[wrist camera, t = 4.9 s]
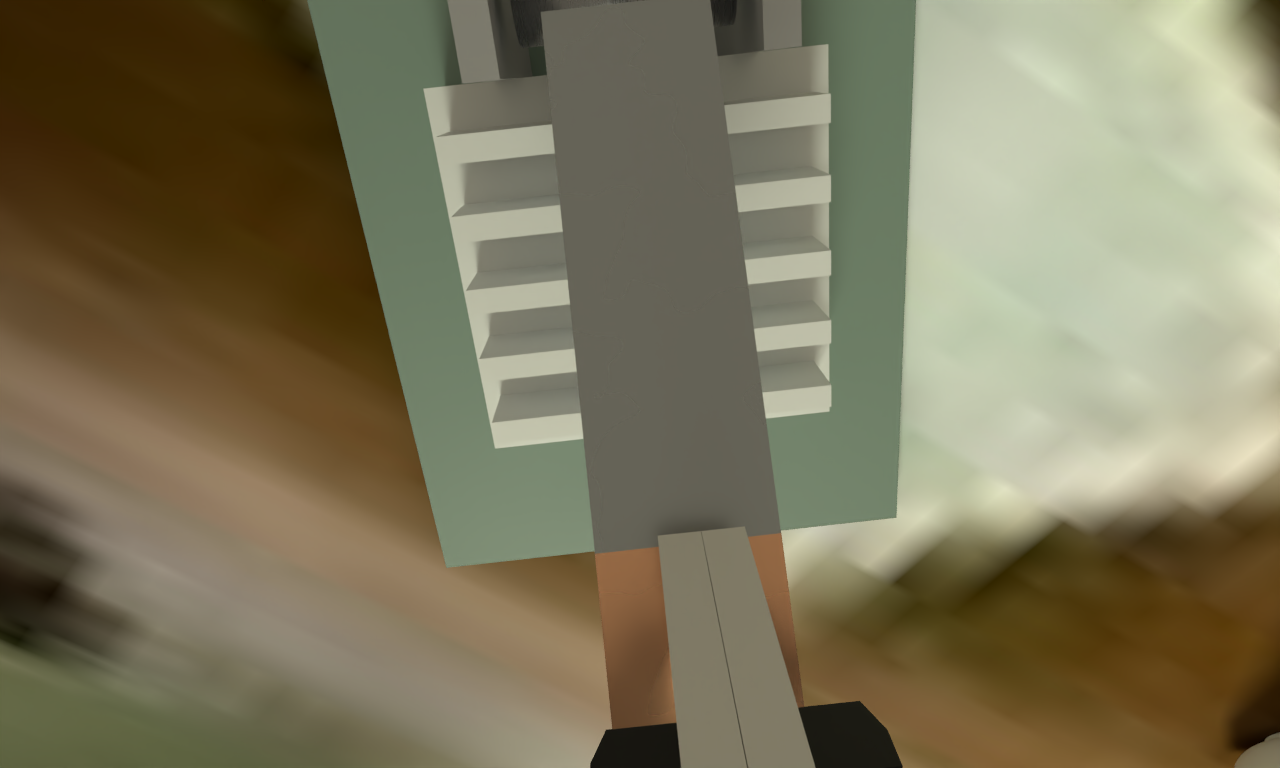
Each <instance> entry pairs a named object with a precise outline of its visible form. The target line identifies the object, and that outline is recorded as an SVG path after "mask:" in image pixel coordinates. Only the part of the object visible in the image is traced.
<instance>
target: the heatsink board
mask: <svg viewBox="0 0 1280 768" xmlns="http://www.w3.org/2000/svg"><path fill="white" fill-rule="evenodd" d="M307 1H308V5H309V9H310V13H311V17H312V21H313V25H314V29H315V33H316V37H317V42H318V46H319V50H320V54H321V58H322V62H323V66H324V70H325V74H326V78H327V82H328V86H329V90H330V95H331V99H332V103H333V107H334V111H335V115H336V119H337V123H338V127H339V131H340V135H341V139H342V144H343V148H344V152H345V156H346V160H347V164H348V168H349V172H350V176H351V180H352V184H353V188H354V192H355V197H356V201H357V205H358V209H359V213H360V217H361V221H362V225H363V229H364V233H365V237H366V241H367V246H368V250H369V254H370V258H371V262H372V266H373V270H374V274H375V278H376V282H377V286H378V290H379V294H380V299H381V303H382V307H383V311H384V315H385V319H386V323H387V327H388V331H389V335H390V339H391V343H392V347H393V352H394V356H395V360H396V364H397V368H398V372H399V376H400V380H401V384H402V388H403V392H404V396H405V401H406V405H407V409H408V413H409V417H410V421H411V425H412V429H413V433H414V437H415V441H416V445H417V449H418V454H419V458H420V462H421V466H422V470H423V474H424V478H425V482H426V486H427V490H428V494H429V498H430V502H431V507H432V511H433V515H434V519H435V523H436V527H437V531H438V535H439V539H440V543H441V547H442V551H443V556H444V560H445V564H446V568H448V567H457V566H466V565H475V564H484V563H493V562H502V561H511V560H520V559H529V558H538V557H547V556H556V555H565V554H574V553H583V552H592V551H595V549H594V539H593V529H592V519H591V509H590V499H589V489H588V479H587V469H586V459H585V449H584V439H583V429H582V419H581V409H580V399H579V389H578V379H577V369H576V359H575V349H574V339H573V329H572V319H571V309H570V299H569V289H568V279H567V269H566V259H565V249H564V239H563V229H562V219H561V209H560V199H559V189H558V179H557V169H556V159H555V149H554V139H553V129H552V119H551V109H550V99H549V89H548V79H547V69H546V59H545V49H544V46H538V47H529V48H521V47H520V45H519V42H518V38H517V34H516V29H515V25H514V20H513V14H512V8H511V2H510V0H307ZM915 10H916V0H737V10H736V18H735V22H734V24H733V25H729V26H720V27H714V32H715V40H716V48H717V55H718V63H719V70H720V78H721V85H722V93H723V100H724V108H725V115H726V123H727V130H728V138H729V145H730V153H731V160H732V168H733V175H734V183H735V190H736V198H737V205H738V213H739V220H740V228H741V235H742V243H743V250H744V258H745V265H746V273H747V280H748V288H749V295H750V303H751V310H752V318H753V325H754V333H755V341H756V348H757V356H758V363H759V371H760V378H761V386H762V393H763V401H764V408H765V416H766V423H767V431H768V438H769V446H770V453H771V461H772V468H773V476H774V483H775V491H776V498H777V506H778V513H779V521H780V528H781V530H789V529H798V528H807V527H816V526H825V525H834V524H843V523H852V522H861V521H870V520H879V519H888V518H896V513H897V487H898V460H899V434H900V407H901V381H902V354H903V328H904V301H905V275H906V248H907V222H908V195H909V169H910V142H911V116H912V89H913V63H914V36H915Z"/></svg>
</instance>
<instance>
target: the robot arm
mask: <svg viewBox="0 0 1280 768" xmlns="http://www.w3.org/2000/svg"><path fill="white" fill-rule="evenodd" d="M701 532H702V534H701ZM658 544H659V554H660V564H661V574H662V584H663V594H664V603H665V613H666V623H667V633H668V643H669V653H670V663H671V672H672V682H673V692H674V702H675V712H676V722H677V723H667V724H658V725H648V726H639V727H629V728H620V729H610V730H606V731H605V734H604V736H603V738H602V740H601V742H600V744H599V746H598V749H597V751H596V753H595V755H594V757H593V759H592V761H591V764H590V768H902V764H901V761H900V759H899V757H898V754H897V752H896V749H895V747H894V745H893V742H892V740H891V737H890V735H889V733H888V730H887V729H886V728H885V727H884V726H883V725H882V724H881V723H880V722H879V721H878V720H877V719H876V718H875V716H874V715H873V714H872V713H871V712H870V711H869V710H868V709H867V708H866V707H865V706H864V705H863V704H862V703H861V702H860V701H856V702H846V703H837V704H827V705H818V706H808V707H799V708H798V706H797V703H796V699H795V696H794V693H793V689H792V686H791V682H790V679H789V676H788V672H787V669H786V665H785V662H784V659H783V655H782V652H781V648H780V645H779V642H778V638H777V635H776V631H775V628H774V625H773V621H772V618H771V614H770V611H769V607H768V604H767V601H766V597H765V594H764V590H763V587H762V584H761V580H760V577H759V573H758V570H757V567H756V563H755V560H754V556H753V553H752V550H751V546H750V543H749V539H748V536H747V532H746V529H745V526H744V527H735V528H725V529H716V530H707V531H697V532H687V533H678V534H669V535H659V536H658Z"/></svg>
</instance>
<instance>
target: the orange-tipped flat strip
mask: <svg viewBox="0 0 1280 768" xmlns="http://www.w3.org/2000/svg"><path fill="white" fill-rule="evenodd" d="M510 2H511V8H512V14H513V20H514V25H515V29H516V34H517V38H518V42H519V45H520V47H521V48H529V47H538V46H544V49H545V59H546V69H547V79H548V89H549V99H550V109H551V119H552V129H553V139H554V149H555V159H556V169H557V179H558V189H559V199H560V209H561V219H562V229H563V239H564V249H565V259H566V269H567V279H568V289H569V299H570V309H571V319H572V329H573V339H574V349H575V359H576V369H577V379H578V389H579V399H580V409H581V419H582V429H583V439H584V449H585V459H586V469H587V479H588V489H589V499H590V509H591V519H592V529H593V539H594V549H595V559H596V569H597V579H598V589H599V599H600V609H601V619H602V629H603V639H604V649H605V659H606V669H607V679H608V689H609V699H610V709H611V719H612V729H620V728H629V727H639V726H648V725H658V724H667V723H677V722H676V712H675V702H674V692H673V682H672V672H671V663H670V653H669V643H668V633H667V623H666V613H665V603H664V594H663V584H662V574H661V564H660V554H659V544H658V536H659V535H669V534H678V533H687V532H697V531H707V530H716V529H725V528H735V527H744V526H745V529H746V532H747V536H748V539H749V543H750V546H751V550H752V553H753V556H754V560H755V563H756V567H757V570H758V573H759V577H760V580H761V584H762V587H763V590H764V594H765V597H766V601H767V604H768V607H769V611H770V614H771V618H772V621H773V625H774V628H775V631H776V635H777V638H778V642H779V645H780V648H781V652H782V655H783V659H784V662H785V665H786V669H787V672H788V676H789V679H790V682H791V686H792V689H793V693H794V696H795V699H796V703H797V706H798V708H799V707H804V701H803V694H802V686H801V679H800V671H799V664H798V656H797V649H796V641H795V633H794V626H793V618H792V611H791V603H790V596H789V588H788V581H787V573H786V566H785V558H784V551H783V543H782V536H781V528H780V521H779V513H778V506H777V498H776V491H775V483H774V476H773V468H772V461H771V453H770V446H769V438H768V431H767V423H766V416H765V408H764V401H763V393H762V386H761V378H760V371H759V363H758V356H757V348H756V341H755V333H754V325H753V318H752V310H751V303H750V295H749V288H748V280H747V273H746V265H745V258H744V250H743V243H742V235H741V228H740V220H739V213H738V205H737V198H736V190H735V183H734V175H733V168H732V160H731V153H730V145H729V138H728V130H727V123H726V115H725V108H724V100H723V93H722V85H721V78H720V70H719V63H718V55H717V48H716V40H715V32H714V27H720V26H729V25H733V24H734V22H735V18H736V10H737V0H510ZM701 534H702V532H701Z"/></svg>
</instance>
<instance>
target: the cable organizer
mask: <svg viewBox="0 0 1280 768" xmlns="http://www.w3.org/2000/svg"><path fill="white" fill-rule="evenodd" d="M1234 768H1280V732H1279V733H1276V734H1273V735H1270V736H1268V737H1267V738H1266V739H1265V740H1264V742H1261V743H1258V744H1256V745H1254V746H1252V747H1250V748H1249V749H1247V750H1246V751H1245V752H1243V753H1242V754H1241V756H1240V757H1239V758H1238V760H1237V761H1236V764H1235V767H1234Z"/></svg>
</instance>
